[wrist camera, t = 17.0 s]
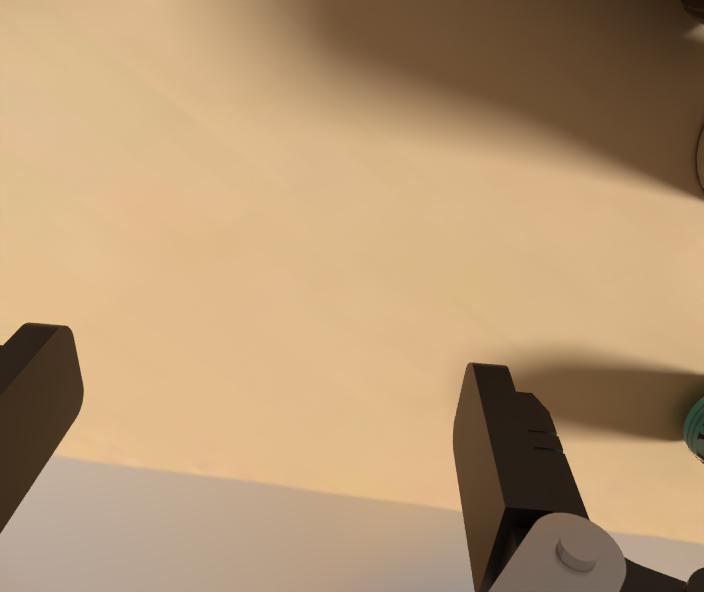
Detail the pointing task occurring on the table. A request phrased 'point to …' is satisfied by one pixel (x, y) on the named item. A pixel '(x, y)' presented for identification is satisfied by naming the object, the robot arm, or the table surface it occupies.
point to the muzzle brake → (695, 9)
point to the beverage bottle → (695, 429)
